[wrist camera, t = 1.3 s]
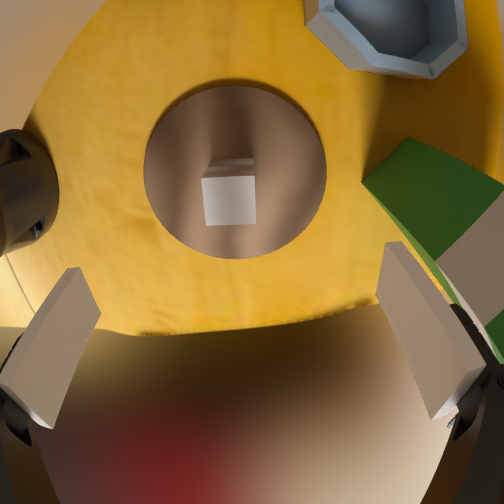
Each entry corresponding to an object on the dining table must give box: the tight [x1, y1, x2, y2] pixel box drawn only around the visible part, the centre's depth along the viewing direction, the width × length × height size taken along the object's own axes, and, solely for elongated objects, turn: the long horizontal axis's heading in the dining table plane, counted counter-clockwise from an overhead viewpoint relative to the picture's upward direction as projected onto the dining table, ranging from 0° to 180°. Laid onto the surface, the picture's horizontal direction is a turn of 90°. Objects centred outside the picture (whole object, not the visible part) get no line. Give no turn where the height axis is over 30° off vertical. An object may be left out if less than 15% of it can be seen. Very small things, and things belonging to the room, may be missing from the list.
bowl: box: [304, 0, 468, 79], centre depth 16 cm, size 14×14×6 cm
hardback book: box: [361, 137, 504, 364], centre depth 20 cm, size 18×7×24 cm, turn 48°
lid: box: [143, 86, 327, 259], centre depth 26 cm, size 18×18×7 cm
